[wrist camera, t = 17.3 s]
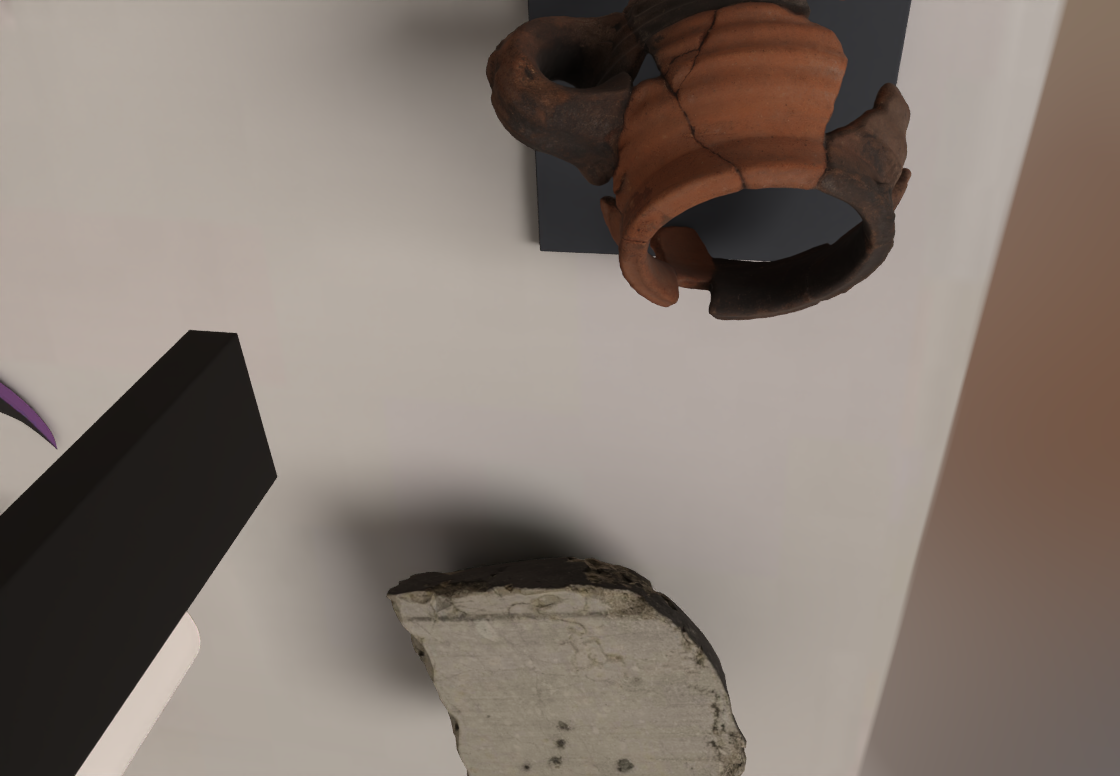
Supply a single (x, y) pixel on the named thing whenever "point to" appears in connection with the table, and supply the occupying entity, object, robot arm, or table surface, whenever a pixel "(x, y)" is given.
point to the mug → (144, 703)
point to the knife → (23, 413)
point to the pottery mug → (708, 138)
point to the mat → (749, 214)
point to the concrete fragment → (570, 671)
